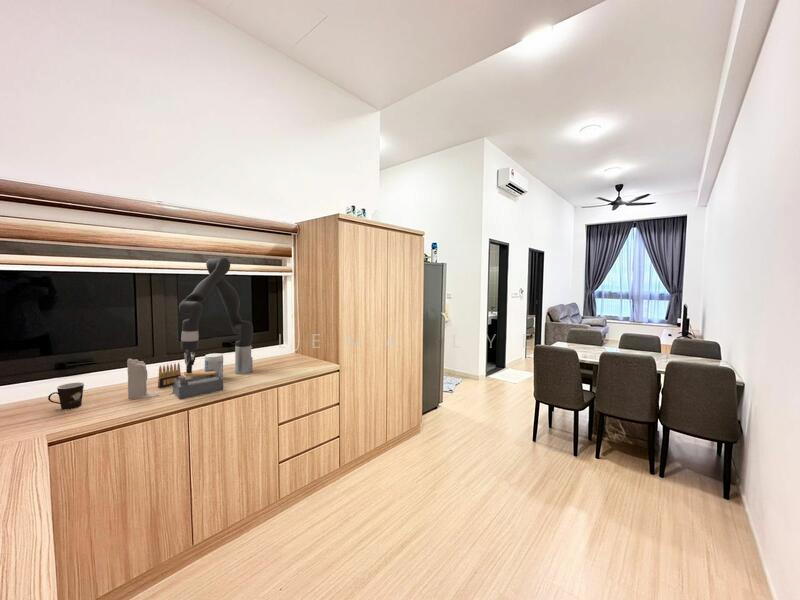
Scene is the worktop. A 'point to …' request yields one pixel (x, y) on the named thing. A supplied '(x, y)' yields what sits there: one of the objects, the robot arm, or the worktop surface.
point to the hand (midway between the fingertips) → (189, 372)
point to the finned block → (197, 385)
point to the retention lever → (199, 373)
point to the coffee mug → (69, 395)
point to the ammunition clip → (168, 375)
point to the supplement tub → (214, 363)
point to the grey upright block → (138, 380)
